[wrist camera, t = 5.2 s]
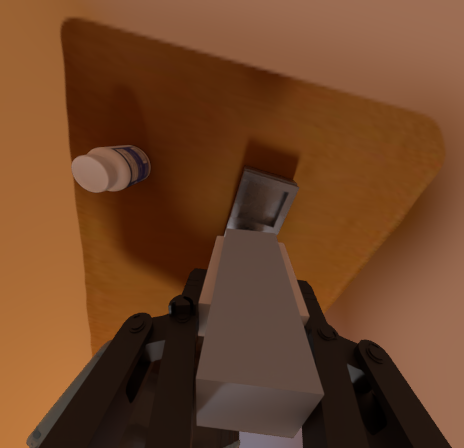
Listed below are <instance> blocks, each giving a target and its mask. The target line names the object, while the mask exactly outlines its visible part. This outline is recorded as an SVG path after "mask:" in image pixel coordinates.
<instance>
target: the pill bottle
mask: <svg viewBox="0 0 464 448" xmlns="http://www.w3.org/2000/svg"><path fill="white" fill-rule="evenodd" d="M71 168H72V174H73V176H74V178H75V180H76V181H77V182H78V183H79V185H81V186H82V187H83V188H84V189H86V190H88V191H90V192H96V193H98V192H103V191H106V190H108V191H119V190H122V189H125V188H127V187H129V186H131V185H134V184H136V183H138V182H140V181H142V180H144V179H146V178H147V177H148V175H149V174H150V170H151V165H150V161H149V159H148V157H147V155H146V154H145V153H144V152H143V151H142V150H141V149H139V148H138V147H135V146H132V145H123V146H110V147H98V148H94V149H92V150H91V151H89V152H88V154H87V155H82V156H78V157H77V158H75V159H74V161H73V162H72V167H71Z"/></svg>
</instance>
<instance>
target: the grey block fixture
mask: <svg viewBox="0 0 464 448" xmlns="http://www.w3.org/2000/svg"><path fill="white" fill-rule="evenodd" d="M298 189H299V187H298V186H297V183H296V182H295V181H294V180H291V179H288V178H285V177H281V176H278V175H275V174H272V173H268V172H265V171H262V170H259V169H255V168H252V167H249V166H246V165H245V166H244V170H243V173H242V176H241V180H240V183H239V186H238V190H237V193H236V196H235V199H234V203H233V206H232V209H231V213H230V216H229V219H228V223H227V226H226V228H230V229H239V230H249V231H258V232H267V233H275V234H276V235H278V232H279V230H280V228H281V226H282V224H283V222H284V219H285V217H286V215H287V213H288V211H289V209H290V207H291V204H292V202H293V200H294V198H295V196H296V194H297V191H298ZM225 233H226V229H225V232H224V236H225Z"/></svg>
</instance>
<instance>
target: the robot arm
mask: <svg viewBox="0 0 464 448" xmlns="http://www.w3.org/2000/svg"><path fill="white" fill-rule="evenodd" d="M224 237H225V236H217V238H216V242H215V245H214V249H213V253H212V256H211V260H210V263H209V267H208V270H205V269H197V268H195V269H194V270H193V271H192V272H191V273H190V275H189V278H188V280H187V283H186V285H185V288H184V290H183V293H182V295H178V296H176V297H174V298H173V299H172V300H171V301H170V303H169V306H168V307H169V314H167V315H163V316H159V317H153V318H152V317H151V316H150V315H149V314H147V313H137V314H134V315H133V316H131V317H129V318H128V319H127V320H126V321H125V322H124V324H123V325H122V327H121V328H120V329H119V331H118V332H117V334H116V335H115V337H114V338H113V340H110V341H108V342H107V343H105V344H104V345H103V346H102V347H101V348H100V349H99V351H98V352H97V353H96V354H95V355H94V357H93V358H92V359H91V360H90V362H89V363H88V364H87V365H86V366H85V367H84V369H83V370H82V371H81V372H80V373H79V375H78V376H77V377H76V378H75V380H74V381H73V382H72V383H71V384H70V386H69V387H68V388H67V389H66V391H65V392H64V393H63V394H62V396H61V397H60V398H59V400H58V401H57V402H56V403H55V404H54V405H53V407H52V408H51V409H50V410H49V412H48V413H47V414H46V415H45V417H44V418H43V419H42V421H41V422H40V423H39V425H38V426H37V427H36V428H35V430H34V431H33V432H32V433H31V434H30V436H29V437H28V439H27V445H28V446H29V447H30V448H239V445H240V440H239V431H234V430H227V429H219V428H211V427H204V426H197V415H196V375H197V370H198V366H199V361H200V356H201V351H202V346H203V341H204V336H205V331H206V326H207V321H208V316H209V311H210V306H211V302H212V297H213V292H214V287H215V282H216V277H217V272H218V267H219V262H220V257H221V252H222V247H223V242H224ZM278 244H279V247H280V250H281V254H282V257H283V260H284V264H285V267H286V270H287V273H288V277H289V280H290V283H291V287H292V290H293V293H294V296H295V300H296V303H297V306H298V310H299V313H300V316H301V319H302V323H303V326H304V329H305V333H306V336H307V339H308V342H309V346H310V349H311V352H312V356H313V359H314V362H315V365H316V369H317V372H318V375H319V379H320V382H321V385H322V388H323V392H324V396H323V397H322V399H321V400H320V402H319V403H318V404H317V406H316V407H315V409H314V410H313V411H312V413H311V414H310V415H309V417H308V418H307V420H306V421H305V422H304V424H303V425H302V437H303V448H452V447H451V446H450V445H449V443H448V442H447V440H446V439H445V437H444V436H443V434H442V433H441V432H440V430H439V428H438V427H437V426H436V424H435V422H434V421H433V420H432V418H431V417H430V415H429V414H428V412H427V411H426V409H425V408H424V406H423V405H422V404H421V402H420V400H419V399H418V398H417V396H416V395H415V393H414V392H413V390H412V389H411V387H410V386H409V384H408V383H407V381H406V380H405V379H404V377H403V376H402V374H401V373H400V371H399V370H398V368H397V367H396V365H395V364H394V362H393V361H392V359H391V358H390V357H389V355H388V354H387V353H386V352H385V350H384V349H383V348H381V347H380V346H379V345H377V344H376V343H374V342H372V341H369V340H361V341H360V342H359V343H358V344H357V343H355V342H352V341H350V340H348V339H345V338H343V337H341V336H339V335H338V333H337V332H336V330H335V329H334V328H333V327H331V326H330V325H329V324H328V323H327V322H326V319H325V317H324V315H323V312H322V310H321V308H320V306H319V303H318V301H317V299H316V296H315V295H314V292H313V289H312V287H311V286H310V285H309V284H308V283H307V282H306V281H302V280H297V279H296V277H295V274H294V271H293V268H292V265H291V262H290V260H289V257H288V254H287V251H286V248H285V245H284V243H278Z"/></svg>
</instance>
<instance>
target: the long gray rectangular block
mask: <svg viewBox="0 0 464 448" xmlns="http://www.w3.org/2000/svg"><path fill="white" fill-rule="evenodd" d="M323 396H324V392H323V388H322V385H321V382H320V379H319V375H318V372H317V369H316V365H315V362H314V359H313V356H312V352H311V349H310V346H309V342H308V339H307V336H306V333H305V329H304V326H303V323H302V319H301V316H300V313H299V310H298V306H297V303H296V300H295V296H294V293H293V290H292V287H291V283H290V280H289V277H288V273H287V270H286V267H285V264H284V260H283V257H282V254H281V250H280V247H279V244H278V241H277V237H276V234H275V233H267V232H258V231H249V230H239V229H230V228H226V233H225V237H224V242H223V247H222V252H221V257H220V262H219V267H218V272H217V277H216V282H215V287H214V292H213V297H212V302H211V306H210V311H209V316H208V321H207V326H206V331H205V336H204V341H203V346H202V351H201V356H200V361H199V366H198V370H197V375H196V415H197V426H204V427H211V428H219V429H227V430H234V431H242V432H249V433H257V434H264V435H272V436H280V437H288V438H294V436H295V435H296V433H297V432H298V431H299V429H300V428H301V427H302V425H303V424H304V422H305V421H306V420H307V418H308V417H309V415H310V414H311V413H312V411H313V410H314V409H315V407H316V406H317V404H318V403H319V402H320V400H321V399H322V397H323Z"/></svg>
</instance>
